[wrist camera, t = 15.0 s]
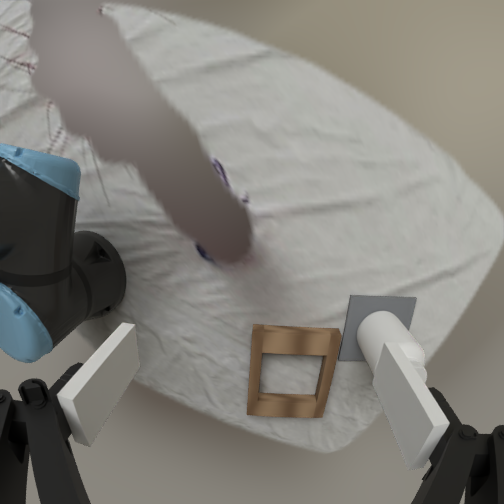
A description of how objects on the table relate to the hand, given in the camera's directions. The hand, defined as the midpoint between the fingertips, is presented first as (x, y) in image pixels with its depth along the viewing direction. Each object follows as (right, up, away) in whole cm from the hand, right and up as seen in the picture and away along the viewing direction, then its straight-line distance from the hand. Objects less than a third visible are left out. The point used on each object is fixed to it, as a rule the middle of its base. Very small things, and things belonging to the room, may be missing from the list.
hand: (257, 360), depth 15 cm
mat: (+21, -8, +33) cm, 40 cm away
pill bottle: (+21, -8, +33) cm, 40 cm away
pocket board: (+6, -15, +36) cm, 40 cm away
